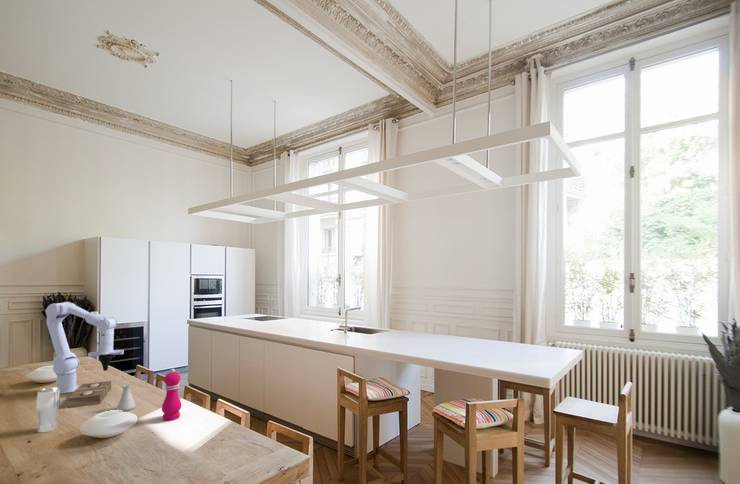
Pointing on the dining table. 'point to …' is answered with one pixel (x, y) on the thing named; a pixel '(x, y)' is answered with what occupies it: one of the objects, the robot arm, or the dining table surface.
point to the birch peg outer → (87, 393)
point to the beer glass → (47, 408)
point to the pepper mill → (171, 397)
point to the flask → (126, 399)
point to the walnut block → (92, 399)
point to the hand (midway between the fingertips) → (105, 370)
